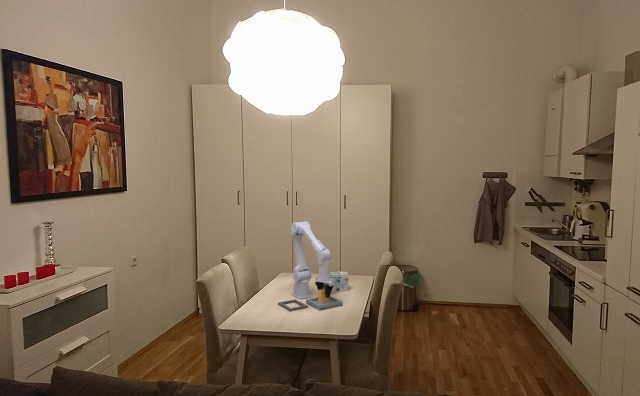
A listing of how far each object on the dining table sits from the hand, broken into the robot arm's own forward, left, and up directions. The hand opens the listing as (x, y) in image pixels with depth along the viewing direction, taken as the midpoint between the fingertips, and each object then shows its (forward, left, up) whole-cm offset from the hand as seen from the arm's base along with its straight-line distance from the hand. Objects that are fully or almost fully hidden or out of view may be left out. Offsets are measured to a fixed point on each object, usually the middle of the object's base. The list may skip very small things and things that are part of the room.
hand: (324, 295), depth 247 cm
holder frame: (-7, -16, -5) cm, 18 cm away
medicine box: (-16, +14, -5) cm, 22 cm away
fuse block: (0, 0, -4) cm, 4 cm away
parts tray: (0, 0, -5) cm, 5 cm away
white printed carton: (-20, +24, -5) cm, 31 cm away
